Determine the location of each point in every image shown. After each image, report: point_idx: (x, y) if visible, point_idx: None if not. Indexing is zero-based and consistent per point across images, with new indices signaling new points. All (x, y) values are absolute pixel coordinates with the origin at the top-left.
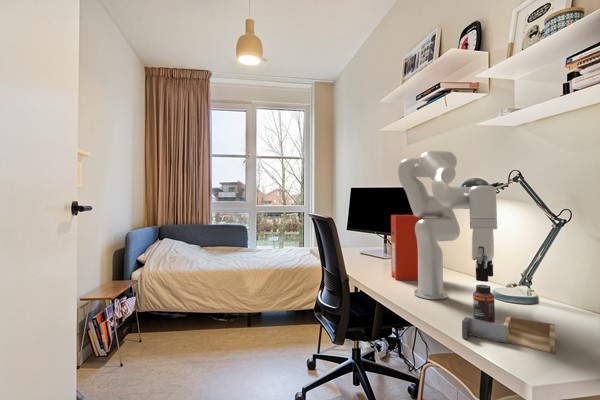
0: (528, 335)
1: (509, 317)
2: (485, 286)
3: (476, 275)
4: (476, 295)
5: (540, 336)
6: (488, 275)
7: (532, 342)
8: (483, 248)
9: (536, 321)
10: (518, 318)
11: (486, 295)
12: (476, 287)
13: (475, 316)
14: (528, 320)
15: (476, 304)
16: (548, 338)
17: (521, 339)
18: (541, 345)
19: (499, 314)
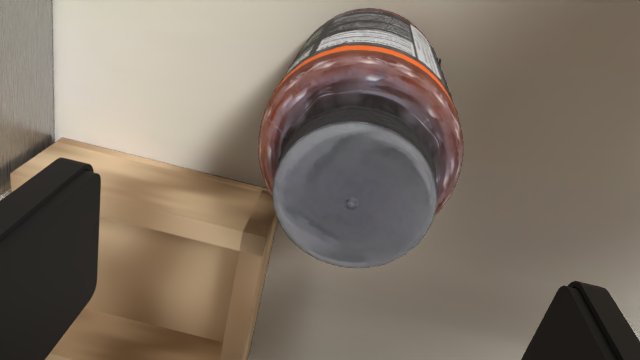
0: (201, 268)
1: (228, 242)
2: (333, 223)
3: (16, 196)
4: (285, 85)
5: (220, 312)
6: (530, 356)
7: (111, 262)
8: None
9: (233, 354)
10: (236, 285)
11: (270, 180)
12: (331, 118)
13: (323, 26)
14: (226, 324)
15: (298, 58)
16: (212, 334)
17: (120, 227)
18: (97, 287)
19: (582, 196)
